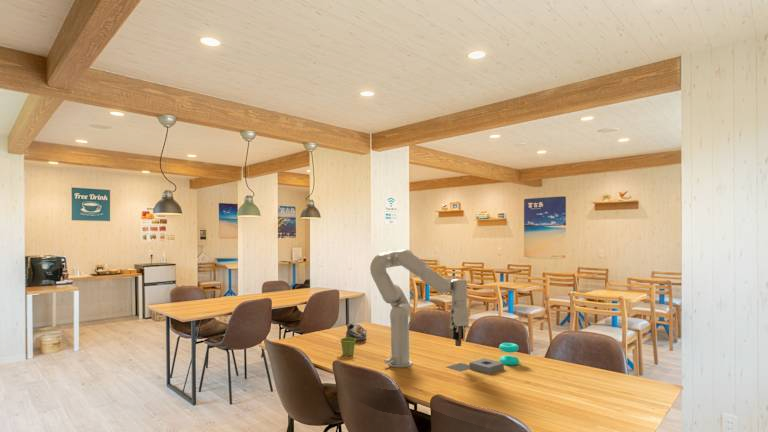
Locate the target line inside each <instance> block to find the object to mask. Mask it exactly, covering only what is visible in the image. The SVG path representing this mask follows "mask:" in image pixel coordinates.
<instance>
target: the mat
mask: <svg viewBox="0 0 768 432" xmlns="http://www.w3.org/2000/svg"><path fill="white" fill-rule="evenodd" d="M445 368H447V369H450V370H454V371H458V372H460V373H461V372H463V371H464V372H465V371H467V370H471V369H470V364H467V363H462V362H459V363H456V364H452V365H449V366H445Z"/></svg>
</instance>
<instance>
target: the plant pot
mask: <svg viewBox="0 0 768 432" xmlns="http://www.w3.org/2000/svg"><path fill="white" fill-rule="evenodd" d="M339 340H340V343H341V349H342V355H343V356H345V357H350V356H353V355H354V353H355V345H356V341H357V340H356V339H355V338H346V337H342V338H340V339H339Z"/></svg>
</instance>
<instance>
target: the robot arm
mask: <svg viewBox="0 0 768 432" xmlns="http://www.w3.org/2000/svg"><path fill="white" fill-rule="evenodd" d="M369 266H370V267H369V270H370V275H371V277H372V279H373V281H374V284H375V285H376V288H377V290H378V292H379V293H380V295H381V298H382V300H383V301H384V302H385V303H386V304H388V305H389V304H390V306H391V309H390V312H389V313H390V314H389V319H390V321H389V322H390V340H391V341H390V344H391V345H390V347H391V350H390V351H391V353H390V354H391V355H390V356H389V358H387V359H384V364H388V366H390V367H392V368H398V369H399V368H402V369H403V368H408V367H411V366H412V365H413V361H412V360H410V323H409V318H410V316H411V314H412V307H411V304H410V302H409V301H408V299H407V297H406V295H405V293H404V291H403V289H402V288H401V287H400V286H399V285H398V284H394V282H393V280H392V279H391V277H390V274H389V273H388V272H387V269H389V268H394V267H400V266H402V267H403V268H404V269H405V270H407V271H409V272H410V273H411V274H413V275H415V276H417V278H419V279H420V280H421V281H422V282H424V283H425V284H426V285H427V286H429V287H430V288H431V289H433V290H435V291H436V292H438V293H440V294H442V295H445V294H448V293H449V292H451V307H450V313H449V326H448V327H449V328H450V329H451V330H452V332H453V333H452V334H453V336H452V337H453V338H452V339H453V340H454V341H455V340H459V332H458V327H459V326H462V332H461V340H463V339H464V337H465V336H464V332H465V329H466V328H467V326H468V325H469V320H470V319H469V318H470V317H469V308H468V305H467V303H468V302H467V300H468V299H467V298H468V297H467V295H468V282H467V280H466V279H464V278H450V277H443V276H441V275H440V274H439V273H437V272H435V271H434V270H433V269H432V268H431V267H430V265H429V264H428V263H427V262H425V261H424V260H423V259H422V258H419V257H418V256H416V255H415V254H414V253H413V252H412V250H410V249H407V248H404V249H400V250H396V251H395V250H394V251H388V252H381V253H378V254H376V255H375V256H374V258H373V259H372V261H371V263H370V265H369Z"/></svg>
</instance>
